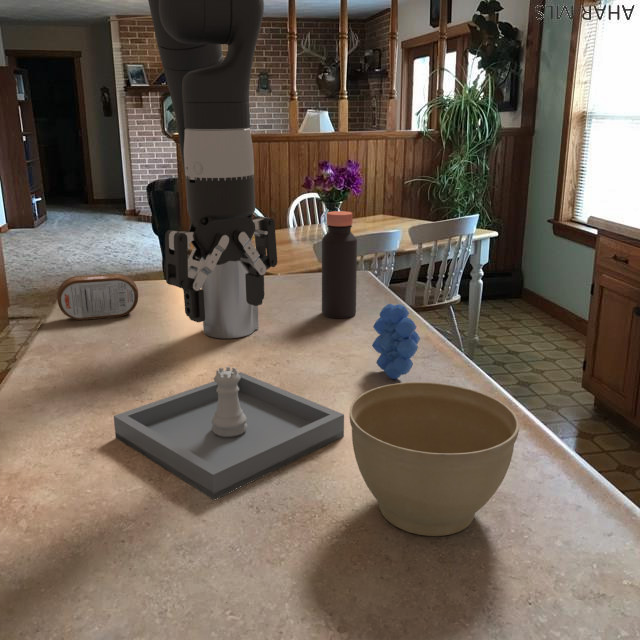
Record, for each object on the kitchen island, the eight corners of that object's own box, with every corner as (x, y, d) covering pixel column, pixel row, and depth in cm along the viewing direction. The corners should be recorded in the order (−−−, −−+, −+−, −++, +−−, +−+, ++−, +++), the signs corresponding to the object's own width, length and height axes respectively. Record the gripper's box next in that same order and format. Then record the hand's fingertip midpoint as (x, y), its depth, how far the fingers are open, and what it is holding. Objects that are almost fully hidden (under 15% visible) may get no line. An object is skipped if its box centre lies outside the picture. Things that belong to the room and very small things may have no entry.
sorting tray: (241, 391, 97) (240, 372, 97) (343, 436, 84) (344, 414, 83) (115, 437, 84) (113, 415, 83) (214, 500, 70) (213, 474, 70)
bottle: (362, 312, 135) (364, 212, 129) (344, 321, 130) (346, 216, 124) (333, 307, 139) (333, 209, 133) (315, 315, 133) (314, 213, 127)
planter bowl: (477, 583, 58) (486, 471, 55) (318, 525, 66) (318, 424, 63) (529, 496, 71) (539, 401, 68) (391, 456, 79) (394, 370, 76)
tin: (139, 311, 136) (136, 270, 133) (140, 316, 133) (137, 274, 131) (59, 318, 131) (54, 276, 129) (59, 323, 129) (54, 280, 126)
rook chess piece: (241, 440, 81) (238, 379, 79) (206, 437, 82) (202, 376, 80) (252, 424, 86) (250, 365, 83) (218, 421, 86) (215, 362, 84)
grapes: (437, 389, 98) (441, 310, 95) (395, 395, 96) (398, 314, 93) (401, 362, 109) (404, 289, 105) (363, 367, 107) (364, 293, 103)
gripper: (247, 164, 82) (252, 294, 87) (144, 174, 72) (156, 319, 77) (290, 168, 77) (292, 305, 82) (186, 179, 67) (195, 334, 72)
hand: (226, 312), depth 79 cm, fingers open, 8 cm apart
